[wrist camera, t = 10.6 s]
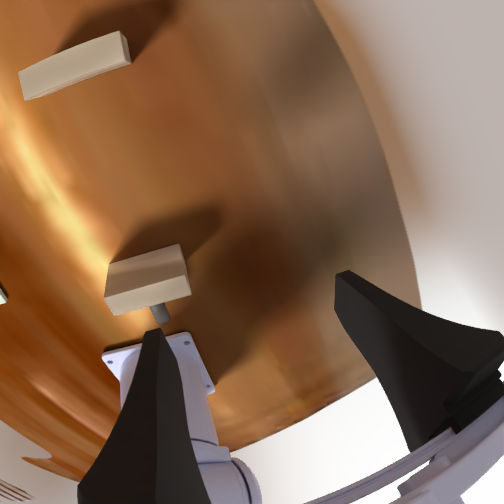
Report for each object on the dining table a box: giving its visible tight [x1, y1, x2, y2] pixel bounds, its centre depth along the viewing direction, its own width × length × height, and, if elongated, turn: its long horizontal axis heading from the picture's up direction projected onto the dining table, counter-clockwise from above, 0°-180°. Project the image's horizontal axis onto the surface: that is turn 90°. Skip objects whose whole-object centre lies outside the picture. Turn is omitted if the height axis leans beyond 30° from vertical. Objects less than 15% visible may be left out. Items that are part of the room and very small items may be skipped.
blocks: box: [18, 31, 192, 324], centre depth 16 cm, size 17×5×4 cm, turn 7°
